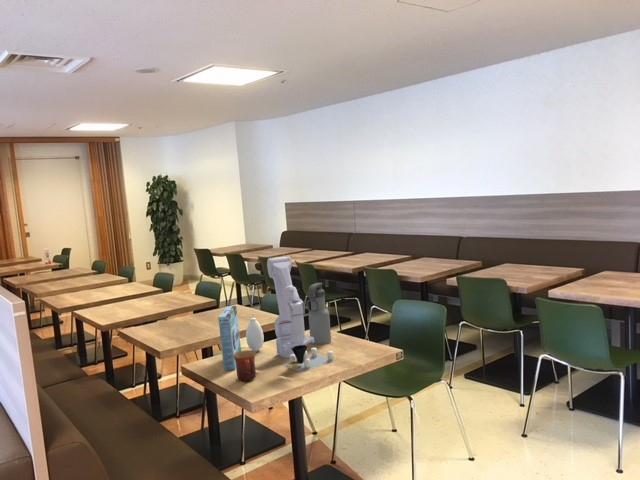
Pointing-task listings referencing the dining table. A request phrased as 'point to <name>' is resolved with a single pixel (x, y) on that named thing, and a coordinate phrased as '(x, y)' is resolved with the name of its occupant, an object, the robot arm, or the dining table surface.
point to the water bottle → (318, 315)
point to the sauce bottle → (254, 335)
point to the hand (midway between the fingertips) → (300, 363)
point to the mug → (245, 365)
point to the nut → (293, 364)
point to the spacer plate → (312, 360)
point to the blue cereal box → (229, 336)
